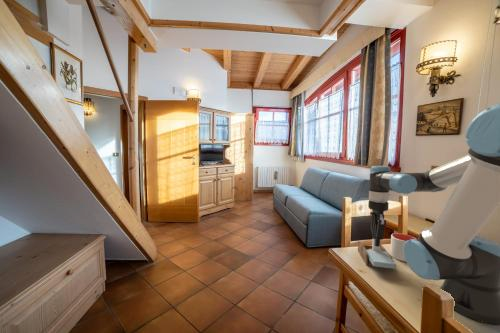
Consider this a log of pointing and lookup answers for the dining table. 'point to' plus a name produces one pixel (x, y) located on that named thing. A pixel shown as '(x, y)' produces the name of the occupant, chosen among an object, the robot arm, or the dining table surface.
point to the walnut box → (364, 254)
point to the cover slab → (380, 259)
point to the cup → (399, 245)
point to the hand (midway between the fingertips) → (375, 251)
